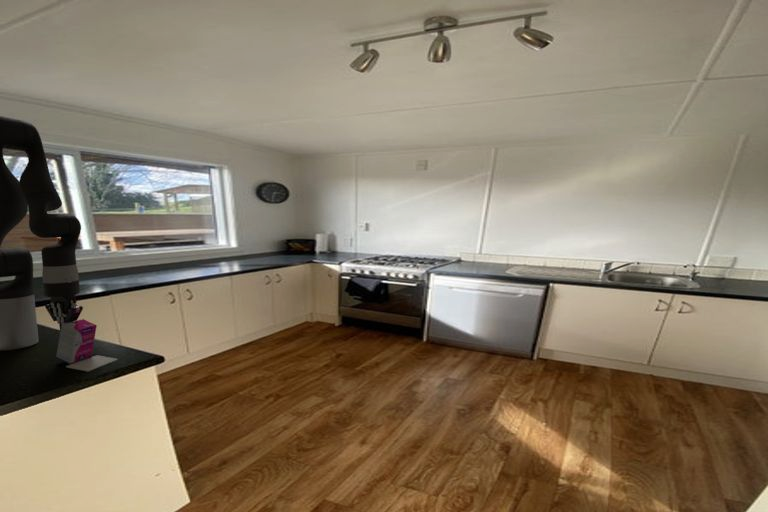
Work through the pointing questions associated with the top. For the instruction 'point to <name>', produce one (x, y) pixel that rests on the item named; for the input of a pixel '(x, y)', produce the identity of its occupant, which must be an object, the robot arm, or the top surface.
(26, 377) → the top surface
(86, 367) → the mat
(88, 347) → the supplement box
